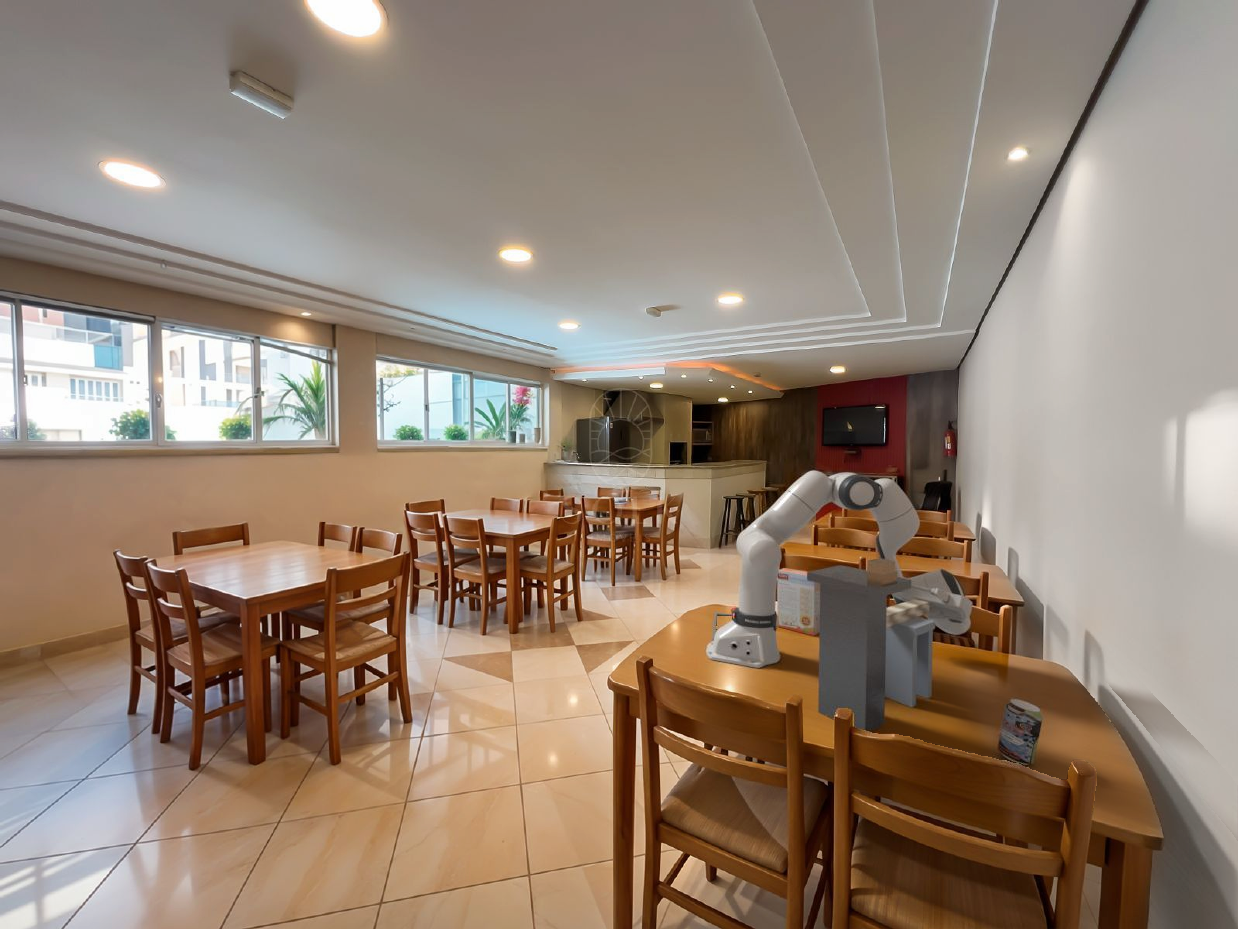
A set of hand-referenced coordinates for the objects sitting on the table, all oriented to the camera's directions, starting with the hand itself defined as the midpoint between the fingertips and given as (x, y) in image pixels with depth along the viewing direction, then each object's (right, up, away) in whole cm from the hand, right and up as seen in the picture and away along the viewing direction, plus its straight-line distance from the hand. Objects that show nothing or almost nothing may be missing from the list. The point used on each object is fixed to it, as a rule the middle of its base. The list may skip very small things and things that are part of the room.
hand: (915, 586), depth 139 cm
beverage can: (+3, -29, -32) cm, 43 cm away
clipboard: (-36, -27, +46) cm, 65 cm away
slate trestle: (-6, -27, -3) cm, 28 cm away
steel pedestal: (-23, -28, -15) cm, 39 cm away
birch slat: (-6, -7, -4) cm, 10 cm away
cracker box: (-16, -26, +45) cm, 54 cm away
